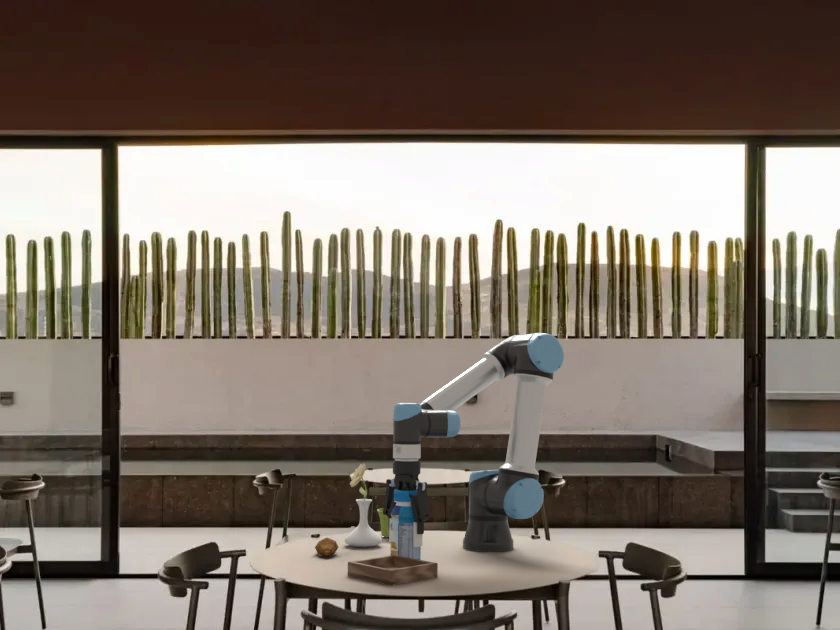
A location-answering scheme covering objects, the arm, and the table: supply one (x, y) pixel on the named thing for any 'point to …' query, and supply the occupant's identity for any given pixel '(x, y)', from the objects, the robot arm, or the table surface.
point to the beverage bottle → (403, 526)
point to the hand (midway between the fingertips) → (405, 544)
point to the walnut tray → (392, 569)
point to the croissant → (326, 547)
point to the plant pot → (383, 523)
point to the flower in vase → (362, 517)
